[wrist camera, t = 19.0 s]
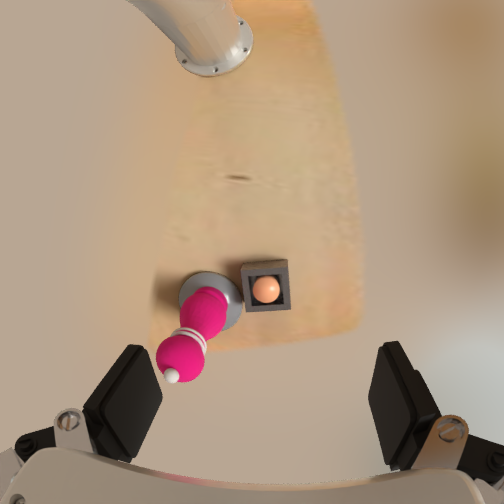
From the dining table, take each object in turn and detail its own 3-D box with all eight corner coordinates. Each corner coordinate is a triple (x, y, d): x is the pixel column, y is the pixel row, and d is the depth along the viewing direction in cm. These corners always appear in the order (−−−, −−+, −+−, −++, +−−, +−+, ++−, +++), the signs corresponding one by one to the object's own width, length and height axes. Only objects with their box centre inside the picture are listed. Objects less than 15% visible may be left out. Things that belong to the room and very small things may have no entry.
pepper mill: (224, 327, 49) (193, 410, 29) (185, 312, 49) (137, 387, 30) (236, 292, 46) (206, 370, 27) (194, 277, 46) (142, 344, 27)
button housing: (243, 263, 46) (240, 270, 43) (287, 259, 45) (287, 266, 42) (248, 302, 48) (246, 312, 44) (290, 299, 47) (290, 309, 44)
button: (253, 273, 45) (251, 279, 43) (278, 271, 44) (278, 277, 42) (255, 296, 46) (254, 303, 44) (280, 295, 46) (280, 301, 43)
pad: (175, 273, 48) (172, 275, 47) (238, 269, 46) (237, 271, 45) (187, 329, 51) (185, 331, 50) (246, 328, 49) (245, 330, 48)
